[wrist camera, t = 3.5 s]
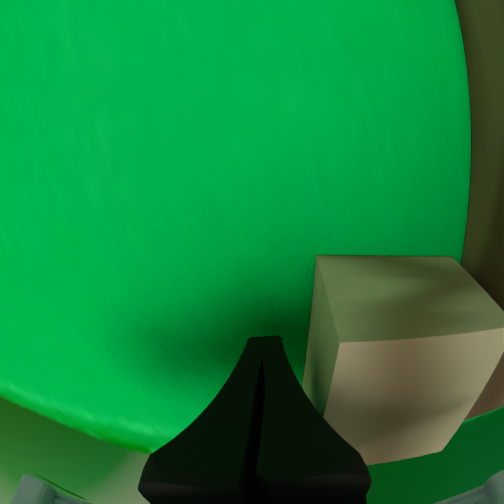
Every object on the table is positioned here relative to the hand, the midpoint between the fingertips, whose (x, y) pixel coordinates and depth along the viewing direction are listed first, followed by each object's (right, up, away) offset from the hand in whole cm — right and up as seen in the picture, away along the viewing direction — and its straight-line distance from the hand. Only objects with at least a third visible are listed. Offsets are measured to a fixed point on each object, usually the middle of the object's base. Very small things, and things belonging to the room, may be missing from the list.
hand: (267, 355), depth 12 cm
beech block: (+5, +1, +1) cm, 5 cm away
